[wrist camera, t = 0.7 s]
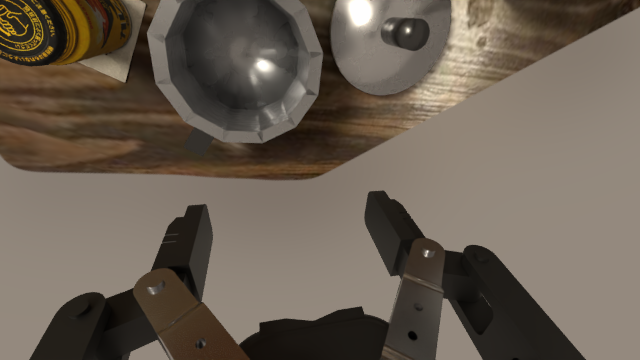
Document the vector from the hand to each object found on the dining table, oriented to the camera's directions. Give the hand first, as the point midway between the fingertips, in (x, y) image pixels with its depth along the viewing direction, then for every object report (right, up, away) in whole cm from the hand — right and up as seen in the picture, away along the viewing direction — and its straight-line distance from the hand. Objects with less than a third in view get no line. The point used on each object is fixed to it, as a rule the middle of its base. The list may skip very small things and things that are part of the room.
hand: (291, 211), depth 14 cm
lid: (+9, +20, +19) cm, 29 cm away
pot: (-7, +16, +17) cm, 24 cm away
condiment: (-21, +17, +13) cm, 30 cm away
